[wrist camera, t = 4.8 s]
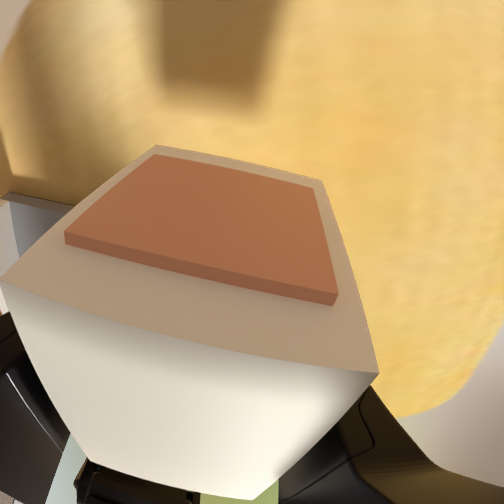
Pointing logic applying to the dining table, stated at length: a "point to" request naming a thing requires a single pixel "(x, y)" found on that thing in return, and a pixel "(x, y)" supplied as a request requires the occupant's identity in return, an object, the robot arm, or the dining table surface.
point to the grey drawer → (24, 228)
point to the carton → (195, 321)
